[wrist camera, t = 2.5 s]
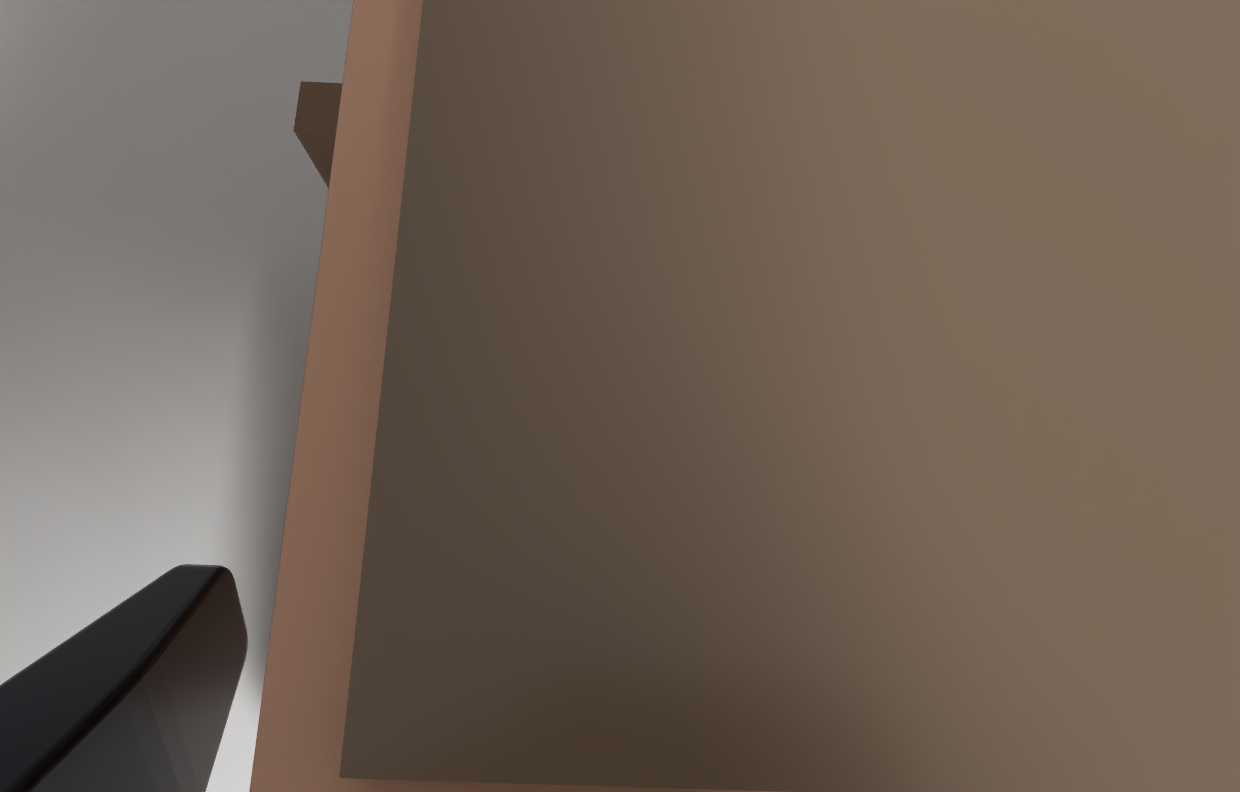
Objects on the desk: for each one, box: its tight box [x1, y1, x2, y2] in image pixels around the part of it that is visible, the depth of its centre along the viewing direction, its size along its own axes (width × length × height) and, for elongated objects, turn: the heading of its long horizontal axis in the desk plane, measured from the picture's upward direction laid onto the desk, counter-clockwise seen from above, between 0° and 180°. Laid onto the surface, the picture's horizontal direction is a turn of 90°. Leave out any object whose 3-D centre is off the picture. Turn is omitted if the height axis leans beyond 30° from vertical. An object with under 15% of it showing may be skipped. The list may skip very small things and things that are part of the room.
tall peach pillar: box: [250, 0, 1240, 792], centre depth 11 cm, size 6×6×13 cm
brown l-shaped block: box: [294, 82, 343, 188], centre depth 14 cm, size 11×12×6 cm
